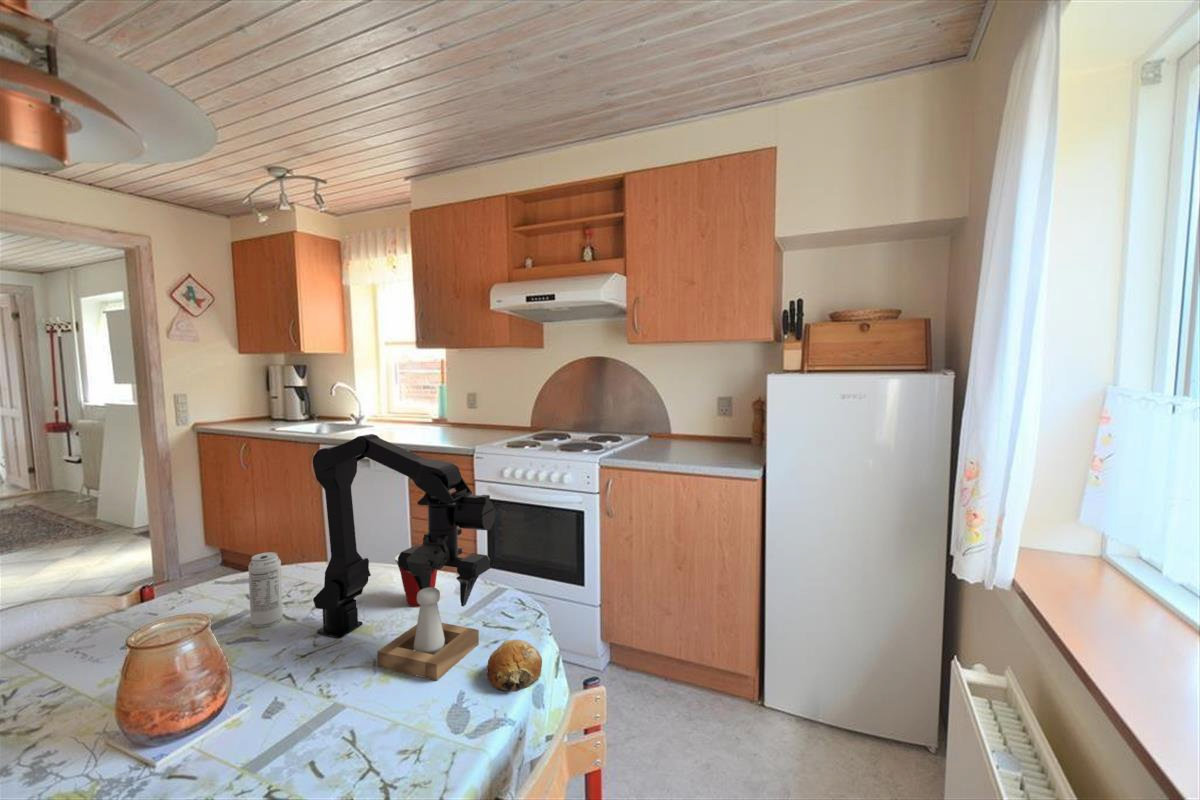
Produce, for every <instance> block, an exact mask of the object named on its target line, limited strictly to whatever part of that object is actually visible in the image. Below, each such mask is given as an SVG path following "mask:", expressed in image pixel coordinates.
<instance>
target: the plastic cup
mask: <svg viewBox="0 0 1200 800" xmlns="http://www.w3.org/2000/svg"><path fill="white" fill-rule="evenodd" d="M399 555H400V553H399V554H397V555H395V556H394V561H395V562H396V564H397V565H398V557H399ZM398 569H399V572H400V577H401V581H402V587H403V591H404V595H405V598H406V602H407V605H408V606H409V607H414V608H415V607H416V608H417V607H419V608H420V605H419V604H418V603H417V594H418V592H419V591H420V589H419V587H418V585H417V582H416V580H415V578H414V576H413V575H412V574H410V573H409V572H407V571H404V570H403V567H398ZM437 573H438V570H437V569H435V570H434V572H433V574H432V575H431V583H430V587H434V588H436V583H437V582H436V581H437Z"/></svg>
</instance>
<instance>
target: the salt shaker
mask: <svg viewBox="0 0 1200 800" xmlns="http://www.w3.org/2000/svg"><path fill="white" fill-rule="evenodd" d="M440 599H441V593H440V590H439V589H438V588H437V587H435V588H434V587H429V588H424V589H422V590H420V591H419V592H418V594H417V603H418V604H419V605H420V606H419V610H418V616H417V617H418V618H417V623H416V625H417V629H416V635H415V641H414V649H415V650H414V651H418V652H423V653H428V654H432V655H434V654H436V653H437V652H438V651H439V650H441V649H442V648H443V647H444V646H445V645H444V642H445V638H444V633H443V628H442V623H443V622H442V620H441V615H440V611H439V610H440V609H439V604H438V602H439V601H440Z"/></svg>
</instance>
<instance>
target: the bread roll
mask: <svg viewBox="0 0 1200 800" xmlns="http://www.w3.org/2000/svg"><path fill="white" fill-rule="evenodd" d="M542 665H543V659H542V656H541V654H540V652H539V651H538V649H537V648H536V647H535V646H534V645H532V644H531V643H530V642H528V641H526V640H523V639H516V638H515V639H505V640H504V641H503V643H501V644H500V645H499V646H498V647H497V648H496V649H494V650H493V651H492V652H491V654H490V656H489V658H488V661H487V666H486V668H487V669H486V677H487V680H488V683H489V684H490V685H491V687H493V688H494V689H496V690H501V691H506V692H508V691H509V692H514V691H520V690H522V689H524V688H527V687H529V686H530V685H531V684H533V683H535V682H537V681H538V678H540V677H541V675H542V667H543V666H542Z"/></svg>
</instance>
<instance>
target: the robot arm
mask: <svg viewBox="0 0 1200 800" xmlns="http://www.w3.org/2000/svg"><path fill="white" fill-rule="evenodd" d="M366 458H368V459H370V460H372V461H374V462H376V463H378V464H381V465H383V466H384V467H386V468H389V469H391V470H394V471H395V472H398V473H399V474H401V475H404V476H406V477H408V478H409V479H411V480H412V482H413V484H415V487H417V488H418V489H420V490H422V491H423V492H424V495H423V497H421V498H420V499H419V500H418V501H417V503H416V504H417V505H418V506H426V507H427V532H426V533H424V534H423V537H422V544H421V545H413V546H412V547H409V548H407V549H404V550H402V551H401V552H400V553H399V554H400V555H399V557H398V564H397V567H398V568H399V567H403V570H404V571H407V572H409V573H410V574H412V575H413V576H414V578H415V580H416V582H417V585H418V587H419V589H420V590H422V589H424V588H429V587H430V583H431V575H432V574H433V572H434V570H435V569H437V571H440V570H442V568H444V567H450V568H456V573H457V575H458V576H456V578H455V579H456V580H457V581H458V582H459V601H460V606H461V607H465V606H466V605H467V603H468V600H469V598H470V595H471V593H472V590H473V588H474V586H475V583H476V582H477V580H478V578H479V576H481V575H482V574H483V573H485V572H486V571H488V570H490V569H491V559H490V557H489V556H488V554H480V553H474V552H473V553H472V552H471V554H469V555H467V556H465V557H464V558H463V557H459V556H460V555H462V554H463V548H461V547H460V548H459V538H458V537H459V536H460V535H461V534H462V531H463V530H477V531H490V530H491V529H492V527H493V526H494V524H495V523H494V522H495V520H496V519H495V518H496V509H495V506H494V503H493V502H492V501H491V496H490V495H489V494H481V495H477V494H476V495H475V494H473V491H472V490H471V488H470V487H469V486H468V484H467V483H466V481H465V480H464V478H463V477H462V473H461V471H460V468H459V466H458V465H455V463H452V462H447V461H444V460H439V459H432V458H425V457H422V456H420V455H417V454H415V453H413V452H411V451H409V450H407V449H404V448H402V447H400V446H399V445H397V444H396V445H395V444H393V443H392V442H389V441H387V440H385V439H383V438H381V437H379V436H378V434H377V435H376V434H374V433H370V434H363V435H359V436H356V437H355V438H353V439H351V440H349V441H346V442H344V443H341V444H338V445H335V446H330V447H323V448H320V449H318V450H317V451H316V452H315V454H313V456H312V467H313V470H314V471H313V472H314V475H315V479H316V481H317V482H318V483H319V485H321V487H322V488H323V489H324V494H325V502H326V503H325V504H326V515H327V516H326V517H327V524H328V525H327V526H328V535H329V545H330V547H329V548H330V560H329V562H328V564H327V567H326V569H325V572H324V582H323V583H324V586H323V587H322V588H321V590H320V591H318V593H317V594H315V596H314V597H313V598H312V601H313V603H314V607H315V609H316V610H317V609H318V610H322V624H323V625H322V626H323V627H321V628H319V629H317V631H316V632H317V634H319V635H324V636H327V637H334V638H338V639H340V638H342V637H344V636H345V635H347V634H349V633H351V632H352V631H354V630H357V628H359V627H361V626H362V625H363V624H364V623H363V621H359V618H358V617H359V615H358V613H359V612H358V610H359V609H358V607H357V599H355V598H356V597H358V596H361V595H362V594H363V590H364V588H365V587H366V585H367V584H368V582H369V577H371V576H372V574H371V571H370V568H369V565H370V560H369V558H368V557H365V558H363V557H362V556H361V554H359V553H358V549H357V539H356V529H355V528H356V527H355V519H354V518H355V516H354V506H353V495H352V484H353V482H354V479H355V477H356V475H357V473H358V462H359V461H361V460H363V459H366ZM451 491H453V492H451Z"/></svg>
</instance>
